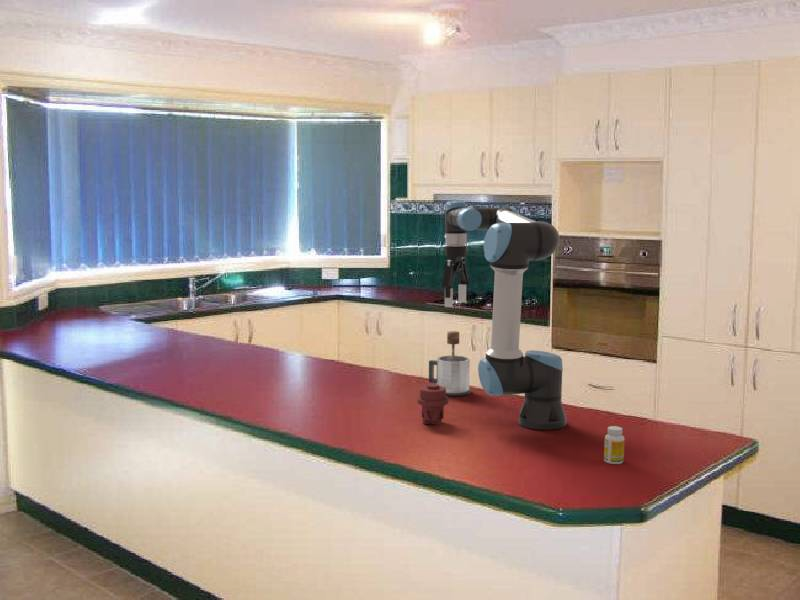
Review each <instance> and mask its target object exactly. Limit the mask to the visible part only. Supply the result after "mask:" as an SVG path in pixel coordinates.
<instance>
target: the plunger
mask: <svg viewBox="0 0 800 600" xmlns="http://www.w3.org/2000/svg"><path fill="white" fill-rule="evenodd" d="M446 337H447V338H446V343H447V344H448V345H451V356H452V362H454V356H456V355H455V348H456V345H459V344H460V331H456V330H455V331H454V330H451V331H447V333H446Z"/></svg>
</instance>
